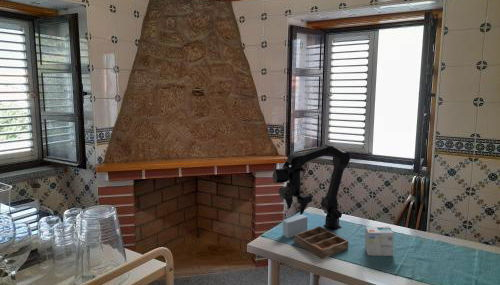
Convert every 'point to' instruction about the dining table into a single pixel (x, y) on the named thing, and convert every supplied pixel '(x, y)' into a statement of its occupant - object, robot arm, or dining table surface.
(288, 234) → the white rectangular box
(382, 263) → the dining table surface
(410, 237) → the dining table surface
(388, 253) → the light bulb box
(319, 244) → the rack
